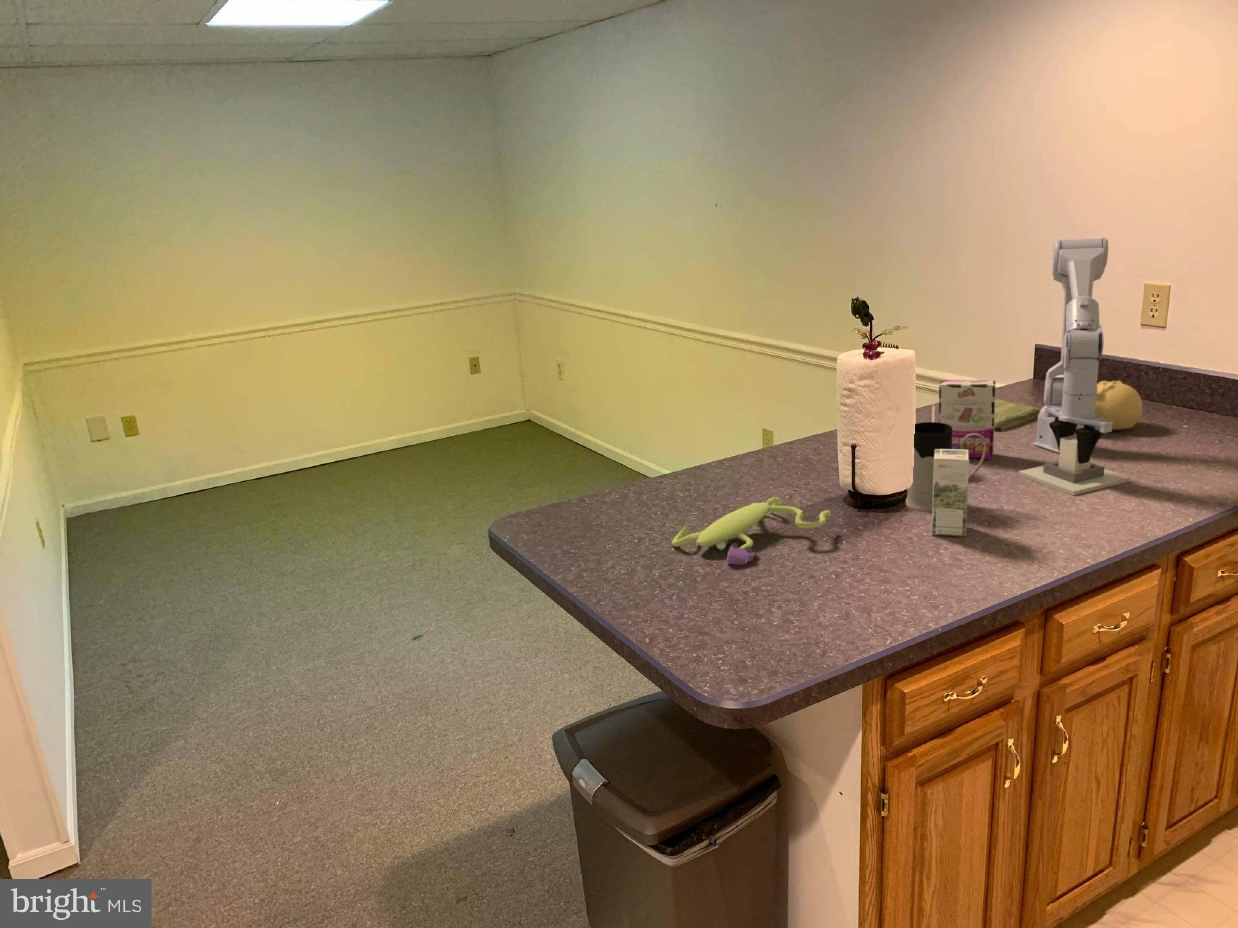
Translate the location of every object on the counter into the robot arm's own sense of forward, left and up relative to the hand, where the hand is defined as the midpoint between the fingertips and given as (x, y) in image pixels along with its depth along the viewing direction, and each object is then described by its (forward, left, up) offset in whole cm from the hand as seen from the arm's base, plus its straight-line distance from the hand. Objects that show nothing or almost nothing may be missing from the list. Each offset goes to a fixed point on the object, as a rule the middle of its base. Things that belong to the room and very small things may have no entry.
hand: (1074, 459), depth 183 cm
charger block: (0, 0, -2) cm, 2 cm away
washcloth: (-39, +17, -5) cm, 43 cm away
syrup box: (+9, -37, -4) cm, 38 cm away
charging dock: (0, 0, -4) cm, 4 cm away
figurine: (-7, -68, -5) cm, 68 cm away
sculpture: (-20, +32, -4) cm, 38 cm away
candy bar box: (-22, -7, -4) cm, 24 cm away
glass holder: (-2, -29, -4) cm, 29 cm away
